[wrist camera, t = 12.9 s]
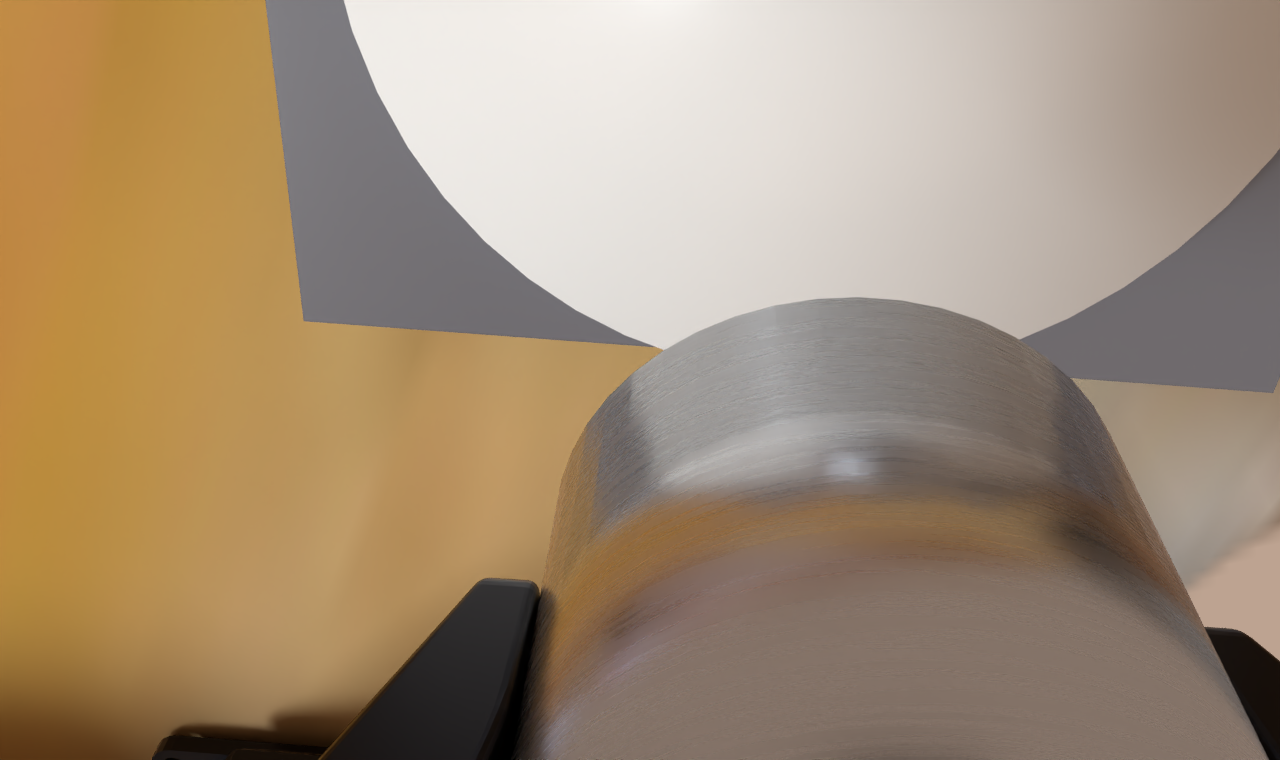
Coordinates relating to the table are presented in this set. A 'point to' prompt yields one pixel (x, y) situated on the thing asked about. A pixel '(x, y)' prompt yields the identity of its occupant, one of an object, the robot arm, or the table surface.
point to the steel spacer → (862, 561)
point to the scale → (795, 169)
